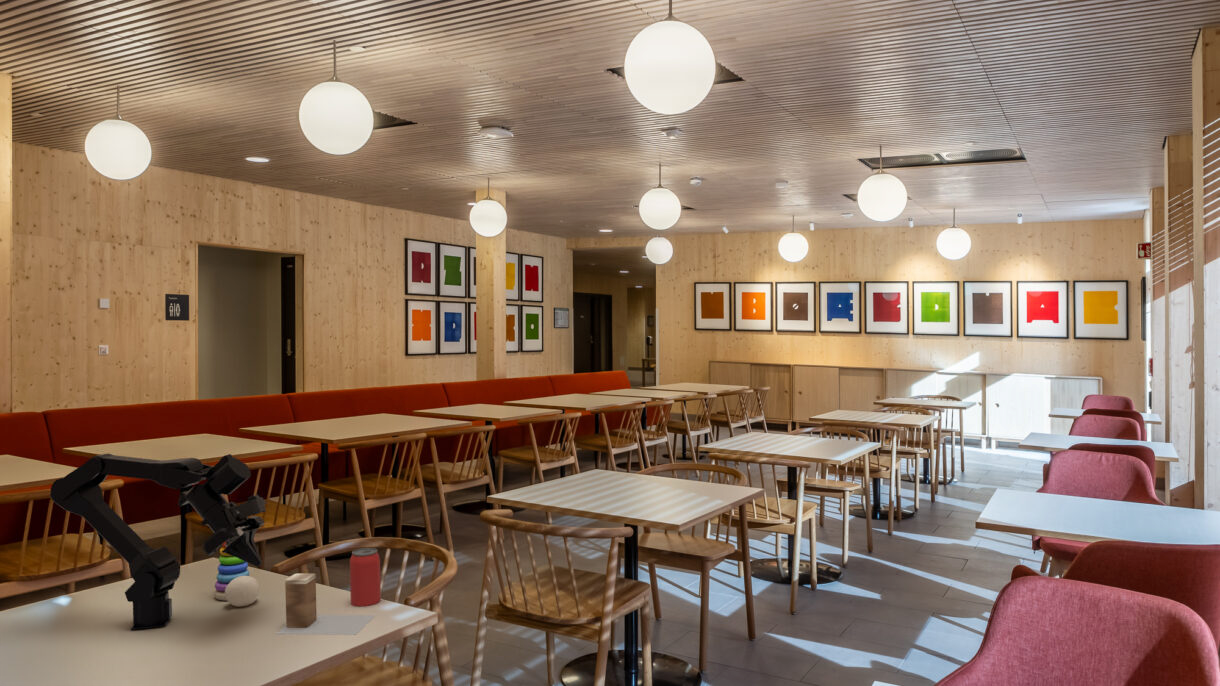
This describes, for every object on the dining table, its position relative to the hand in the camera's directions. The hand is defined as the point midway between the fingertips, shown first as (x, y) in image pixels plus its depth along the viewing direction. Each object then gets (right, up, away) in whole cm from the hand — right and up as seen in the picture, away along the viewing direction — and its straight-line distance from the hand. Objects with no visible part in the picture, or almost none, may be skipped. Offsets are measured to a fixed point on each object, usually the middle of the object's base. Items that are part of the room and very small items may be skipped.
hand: (260, 564), depth 171 cm
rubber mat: (+15, -13, -1) cm, 19 cm away
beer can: (+19, -12, +13) cm, 26 cm away
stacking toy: (-15, -13, +19) cm, 28 cm away
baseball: (-9, -13, +13) cm, 20 cm away
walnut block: (+9, -12, -1) cm, 15 cm away
